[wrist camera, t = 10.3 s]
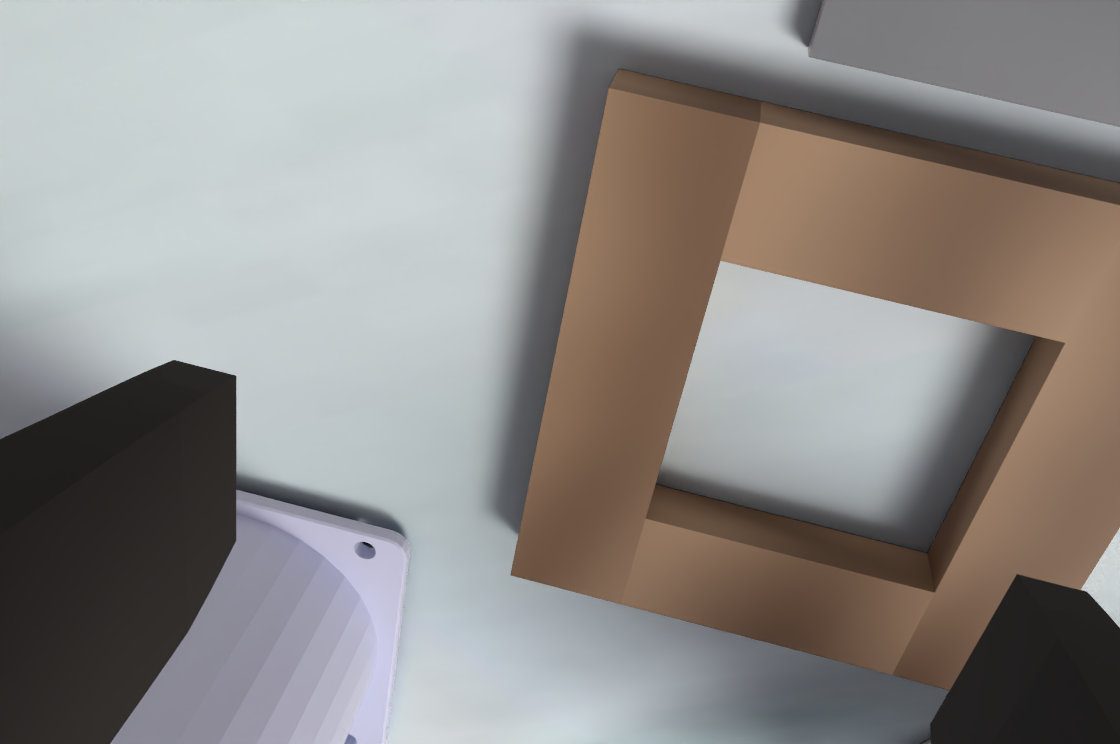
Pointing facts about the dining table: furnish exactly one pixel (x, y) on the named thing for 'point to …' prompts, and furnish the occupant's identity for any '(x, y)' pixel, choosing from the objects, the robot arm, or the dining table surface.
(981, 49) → the coaster
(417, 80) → the dining table surface
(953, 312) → the collar
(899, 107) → the dining table surface
